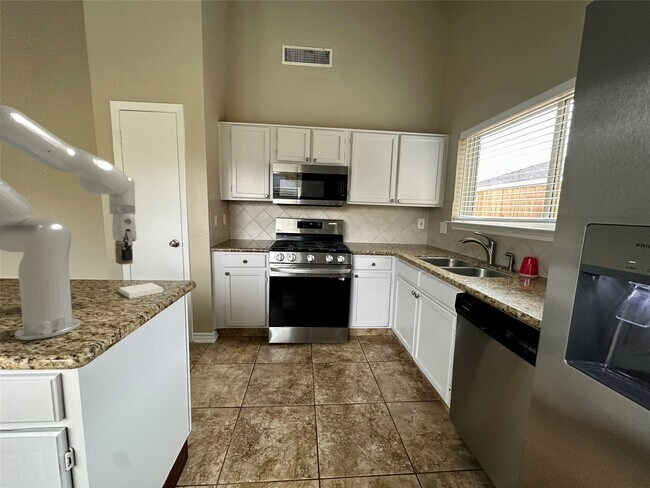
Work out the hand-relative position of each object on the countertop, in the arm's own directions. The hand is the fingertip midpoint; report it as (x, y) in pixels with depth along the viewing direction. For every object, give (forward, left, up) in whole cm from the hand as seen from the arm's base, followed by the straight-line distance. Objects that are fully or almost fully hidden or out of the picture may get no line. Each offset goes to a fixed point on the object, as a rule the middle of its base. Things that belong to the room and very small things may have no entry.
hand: (124, 258), depth 97 cm
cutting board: (+10, -8, -17) cm, 21 cm away
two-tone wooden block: (0, 0, -2) cm, 2 cm away
